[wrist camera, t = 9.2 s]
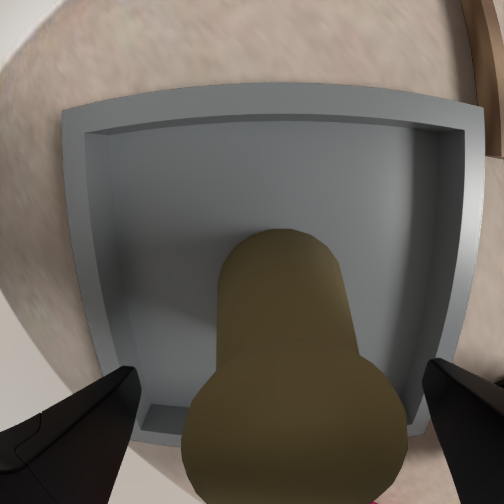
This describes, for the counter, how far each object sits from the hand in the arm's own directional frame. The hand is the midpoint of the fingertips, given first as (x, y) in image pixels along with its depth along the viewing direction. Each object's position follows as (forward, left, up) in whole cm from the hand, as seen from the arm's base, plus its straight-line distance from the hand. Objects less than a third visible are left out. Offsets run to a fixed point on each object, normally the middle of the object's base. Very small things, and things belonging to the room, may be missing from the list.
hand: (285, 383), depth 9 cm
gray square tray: (0, 0, -7) cm, 7 cm away
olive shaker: (0, 0, -7) cm, 7 cm away
